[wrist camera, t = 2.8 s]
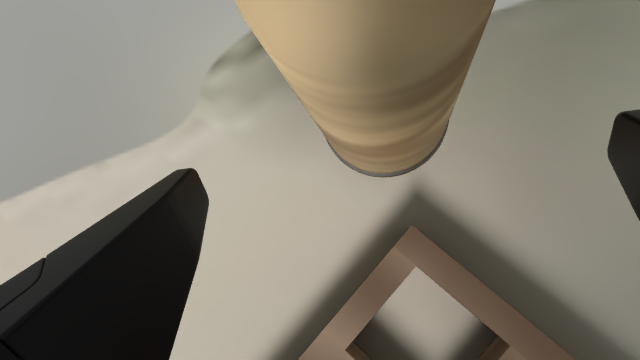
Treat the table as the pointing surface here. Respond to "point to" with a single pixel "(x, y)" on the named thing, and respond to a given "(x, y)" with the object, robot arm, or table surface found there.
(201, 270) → the table surface
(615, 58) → the table surface
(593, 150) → the table surface
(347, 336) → the walnut board
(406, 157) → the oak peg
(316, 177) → the table surface
